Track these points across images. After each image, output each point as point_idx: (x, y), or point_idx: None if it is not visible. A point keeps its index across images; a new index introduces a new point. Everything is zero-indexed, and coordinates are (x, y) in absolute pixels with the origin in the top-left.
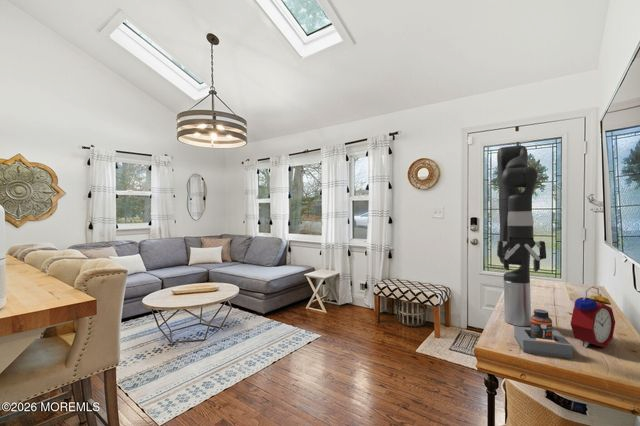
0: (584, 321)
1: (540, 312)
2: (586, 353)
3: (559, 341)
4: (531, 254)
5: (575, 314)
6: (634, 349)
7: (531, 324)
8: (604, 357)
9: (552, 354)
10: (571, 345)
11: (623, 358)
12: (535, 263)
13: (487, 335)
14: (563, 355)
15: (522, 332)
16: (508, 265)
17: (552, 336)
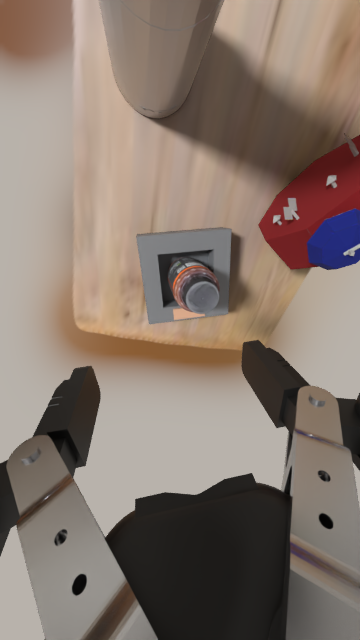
0: (294, 256)
1: (197, 313)
2: (251, 269)
3: None
4: (283, 485)
5: (292, 239)
6: None
7: (172, 292)
8: (272, 275)
9: None
10: (227, 313)
11: None
12: (265, 409)
13: (77, 250)
14: None
15: (152, 279)
16: (91, 422)
17: (211, 257)
